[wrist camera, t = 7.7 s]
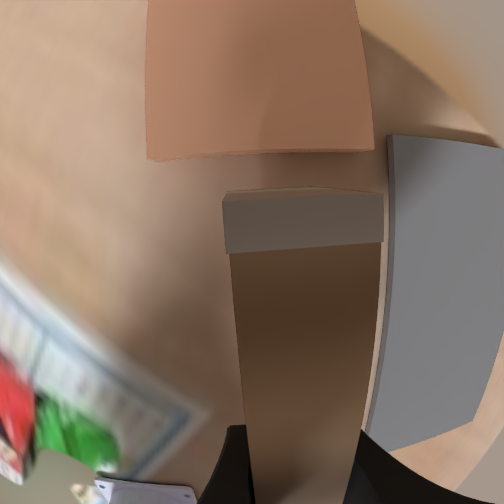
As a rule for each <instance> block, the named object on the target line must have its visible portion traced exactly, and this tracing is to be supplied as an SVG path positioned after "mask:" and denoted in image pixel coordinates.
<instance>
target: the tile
mask: <svg viewBox="0 0 504 504" xmlns="http://www.w3.org/2000/svg"><path fill="white" fill-rule="evenodd" d="M145 111H146V142H147V160H152V161H157V162H163V161H171V160H181V159H191V158H202V157H214V156H227V155H243V154H262V153H292V152H356V153H358V152H363V151H369V150H375V145H374V131H373V119H372V108H371V99H370V90H369V82H368V74H367V67H366V60H365V54H364V48H363V42H362V36H361V31H360V25H359V20H358V15H357V11H356V6H355V2H354V0H148V14H147V32H146V61H145Z"/></svg>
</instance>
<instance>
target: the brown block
mask: <svg viewBox="0 0 504 504" xmlns="http://www.w3.org/2000/svg"><path fill="white" fill-rule="evenodd" d="M222 208H223V221H224V234H225V246H226V254H230V266H231V278H232V289H233V300H234V311H235V322H236V333H237V343H238V353H239V363H240V373H241V382H242V392H243V401H244V410H245V419H246V428H247V437H248V445H249V454H250V462H251V470H252V478H253V486H254V494H255V502H256V504H342V503H343V500H344V496H345V493H346V489H347V485H348V482H349V478H350V474H351V470H352V466H353V462H354V458H355V454H356V449H357V445H358V440H359V435H360V431H361V426H362V421H363V415H364V410H365V404H366V399H367V393H368V386H369V380H370V373H371V366H372V358H373V350H374V341H375V332H376V322H377V310H378V297H379V281H380V258H381V242H383V241H384V201H383V194H380V193H372V192H363V191H353V190H343V189H333V188H322V187H291V188H272V189H255V190H240V191H228V192H227V194H226V195H225V197H224V199H223V201H222Z"/></svg>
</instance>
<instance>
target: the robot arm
mask: <svg viewBox="0 0 504 504" xmlns="http://www.w3.org/2000/svg"><path fill="white" fill-rule="evenodd" d="M94 482H95V483H96V485H97V486H98V488H99V489H100V491H101V492H102V494H103V495H104V496H105V498H106V499H107V501H108V502H109V504H256V502H255V494H254V486H253V478H252V470H251V462H250V454H249V445H248V437H247V428H246V425H233V426H230V427H228V428H227V434H226V438H225V442H224V445H223V449H222V451H221V454H220V457H219V460H218V462H217V464H216V467H215V469H214V472H213V474H212V476H211V478H210V480H209V482H208V484H207V486H206V488H205V490H204V492H203V493H202V495H201V497H200V499H199V500H198V502H197V499H196V497H195V494H194V491H193V489H192V488H190V487H188V486H173V485H158V484H147V483H137V482H129V481H122V480H115V479H108V478H103V477H95V480H94ZM342 504H494V503H488V502H483V501H479V500H476V499H472V498H469V497H465V496H463V495H460V494H458V493H455V492H453V491H450V490H448V489H445V488H443V487H441V486H439V485H437V484H435V483H433V482H431V481H429V480H427V479H425V478H424V477H422V476H420V475H418V474H417V473H415V472H414V471H412V470H410V469H409V468H408V467H406V466H405V465H403V464H402V463H400V462H399V461H398V460H396V459H395V458H394V457H392V456H391V455H390V454H389V453H387V452H386V451H385V450H384V449H383V448H382V447H380V446H379V445H378V444H377V443H376V442H375V441H373V440H372V439H371V438H370V437H369V436H368V435H367V434H366V433H365V432H364V431H363V430H362V429H361V431H360V435H359V440H358V445H357V449H356V454H355V458H354V462H353V466H352V470H351V474H350V478H349V482H348V485H347V489H346V493H345V496H344V500H343V503H342Z"/></svg>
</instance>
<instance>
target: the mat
mask: <svg viewBox="0 0 504 504" xmlns="http://www.w3.org/2000/svg"><path fill="white" fill-rule="evenodd" d="M387 147H388V165H389V199H390V223H389V258H388V276H387V291H386V303H385V313H384V323H383V332H382V340H381V347H380V355H379V361H378V368H377V374H376V380H375V386H374V392H373V397H372V402H371V407H370V412H369V417H368V422H367V426H366V431H365V433H366V434H367V435H368V436H369V437H370V438H371V439H372V440H373V441H375V442H376V443H377V444H378V445H379V446H380V447H382V448H383V449H384V450H385V451H386V452H390V451H393V450H396V449H400V448H403V447H406V446H409V445H412V444H415V443H418V442H421V441H424V440H427V439H429V438H432V437H435V436H437V435H440V434H443V433H445V432H448V431H450V430H452V429H455V428H457V427H460V426H462V425H464V424H466V423H469V422H471V421H473V419H474V416H475V414H476V411H477V409H478V407H479V404H480V402H481V399H482V397H483V394H484V391H485V389H486V386H487V383H488V380H489V377H490V375H491V372H492V369H493V366H494V362H495V359H496V356H497V353H498V349H499V346H500V342H501V338H502V335H503V331H504V149H500V148H495V147H489V146H484V145H478V144H472V143H466V142H459V141H452V140H444V139H436V138H428V137H418V136H408V135H396V134H391V135H387Z"/></svg>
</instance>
